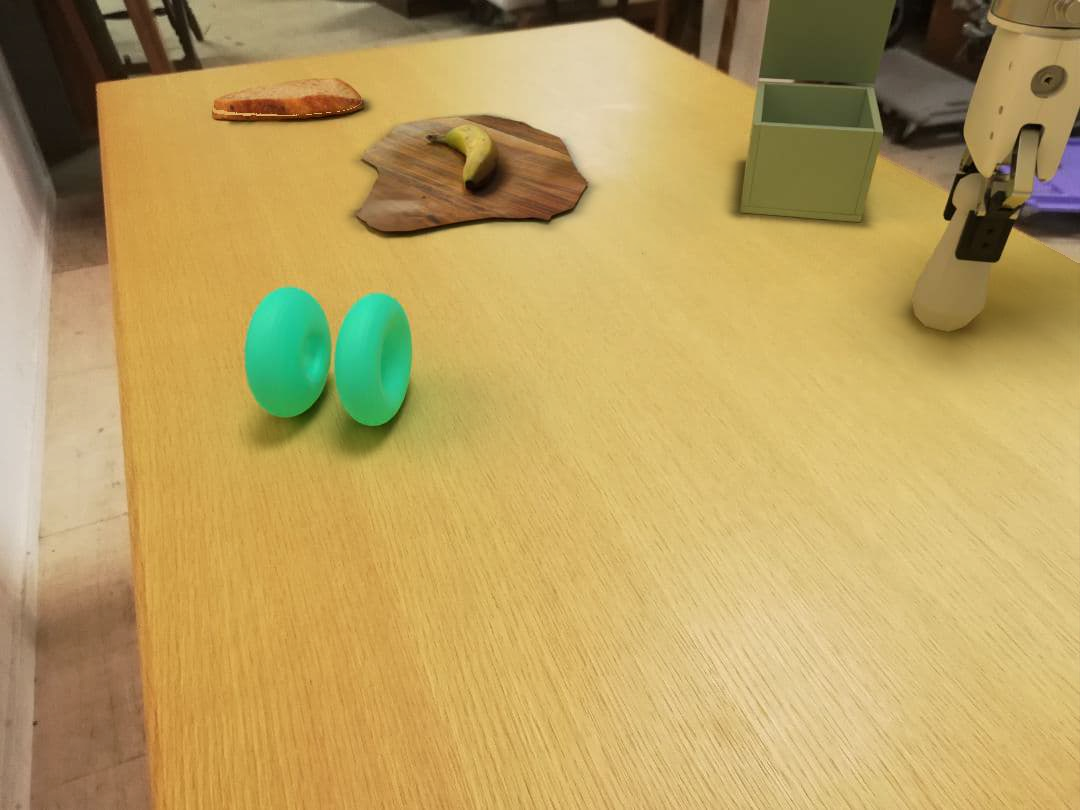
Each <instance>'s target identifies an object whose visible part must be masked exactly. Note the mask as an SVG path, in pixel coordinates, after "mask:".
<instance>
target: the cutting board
mask: <svg viewBox="0 0 1080 810" xmlns="http://www.w3.org/2000/svg"><path fill="white" fill-rule="evenodd" d="M360 158H361V159H363V160H364V161H365V162H367V163H369V164H371V165H372V166H374V167H375V168H376V169H377V171H378V173H379V174H378V176H377V177H376V179H375V181H374V184H373V185H372V188H371V191H370V192H369V195H368V196H367V197H366V198H365V201H364V202H363V203H362V205H361V207H360V208H359V209H358V211H357V212H356V214H355V215H356V216H357V217H358V218H359V219H360V220H362V221H364V222H365V223H366V224H367V225H368V226H369V227H371V228H374V229H376V230H379V231H382V232H411V231H416V230H421V229H426V228H432V227H437V226H443V225H448V224H454V223H460V222H468V221H474V220H481V219H488V218H507V219H527V218H536V219H542V220H547V221H549V220H550V219H551V218H552V216H554V215H557V214H560V213H562V212H565V211H568V210H570V209H573V208H574V207H575V206H576V204H577V202H578V200H579V199H580V197H581V195H582V194H583V192H584V190H585V188H586V187H587V186H588V185H589V183H590V181H587V179H586V178H585V177H584V176H583V175H582V173H581V172H580V171H579V169H578V168H577V167H576V164H575V163H574V161H573V160H572V156H571V155H570V153H569V149H568V147H567V145H566V144H565V142H564V141H563V140H562V139H561V137H559V136H558V135H554V134H553V133H552V134H551V133H549V132H546V131H544V130H542V129H539V128H536V127H533V126H532V125H530V124H528V123H527V122H525V121H521V120H520V121H519V120H515V119H510V118H503V117H500V116H492V115H486V114H481V115H468V116H467V115H466V116H453V117H445V118H444V117H442V118H432V119H424V120H417V121H411V122H410V121H409V122H403V123H399V124H398V125H397V126H395V127H394V128H393V129H392V130H391V131H390V132H389V133H387V134H386V135H385V136H384V137H383V138H382V139H380V140H379V141H378V142H376V143H375V144H373V146H371V147H370V148H368V149H366V151H364V153H363V154H362V155H361V156H360Z"/></svg>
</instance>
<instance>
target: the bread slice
mask: <svg viewBox="0 0 1080 810" xmlns="http://www.w3.org/2000/svg"><path fill="white" fill-rule="evenodd" d="M361 98H362V96H361V95H360V94H359V92H358V91H357V90H356V89H355V88H354V87H353V86H352V85H350V84H349V83H347V82H345V81H344V80H342V79H341V78H339V77H338V78H337V77H333V78H309V79H307V78H305V79H301V80H288V81H283V82H279V83H275V84H266V85H262V86H257V87H251V88H245V89H243V90H239V91H234V92H231V93H227V94H224V95H222V96H220V97H218V98H216V99H214V100H213V105H214V106H212V108H213V107H214V108H215V109H216V110H224V111H227V112H235V113H236V112H237V113H255V114H256V113H257V114H260V113H261V114H277V115H293V114H294V115H296V114H297V116H256V115H251V116H243V115H225V114H217V113H214V112H213V110H212V109H211V116H212V118H213V119H215V120H228V121H239V122H240V121H282V120H296V119H297V120H298V119H302V120H305V119H311V118H313V119H314V118H316V119H318V118H324V117H329V116H341V115H346V114H350V113H353V112H355V111H359V110H362V109H364V108H365V103H364V100H363V99H362V100H361ZM361 101H362V103H361ZM360 103H361V104H360ZM359 104H360V105H359ZM358 105H359V106H358ZM355 106H357V107H355ZM353 107H355V108H353ZM350 108H352V109H350ZM347 109H349V110H347ZM343 110H345V111H343ZM337 111H340V112H337ZM326 112H331V113H326ZM314 113H322V114H314ZM298 114H299V115H298ZM306 114H312V115H306Z"/></svg>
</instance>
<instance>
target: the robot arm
mask: <svg viewBox="0 0 1080 810" xmlns="http://www.w3.org/2000/svg"><path fill="white" fill-rule="evenodd" d="M986 20H987V21H988V22H989V23H990V24H991V25H992V26H996V28H995V31H994V33H993V35H992V37H991V41H990V44H989V46H988V50H987V52H986V55H985V57H984V60H983V63H982V65H981V68H980V71H979V74H978V77H977V80H976V83H975V86H974V89H973V92H972V96H971V98H970V101H969V102H970V103H969V105H968V109H967V112H966V116H965V120H964V125H963V137H964V140H965V141H964V142H965V144H966V148H965V149H964V153H963V154H962V157H961V158H960V161H959V164H958V173H956V174H955V176H954V180H953V183H952V185H951V188H950V192H949V194H948V197H947V201H946V203H945V206H944V209H943V213H942V216H943V220H944V221H947V222H950V221H951V219H952V217H953V215H954V213H955V212H956V210H957V208H956V207H955V206H954V204H953V203H952V199H953V195H954V192H955V189H956V186H957V184H958V183H959V181H960V179H962V178H964V177H966V176H968V175H970V174H974V173H981V174H982V175H983V178H982V183H981V187H980V191H979V195H978V200H977V204H976V208H975V210H970V211H969V213H968V216H967V219H966V222H965V225H964V228H963V230H962V233H961V236H960V239H959V242H958V245H957V248H956V250H955V256H956V258H957V259H958V260H966V261H977V262H988V263H991V264H995V263H998V262H999V261H1000V259H1001V257H1002V255H1003V252H1004V250H1005V248H1006V245H1007V243H1008V240H1009V237H1010V235H1011V233H1012V229H1013V227H1014V224H1015V222H1016V220H1017V219H1018V218H1019V215H1020V212H1021V208H1022V207H1023V206H1024V205H1025V203H1026V201H1028V200H1029V199H1030V198H1031V197H1032V195H1033V190H1034V184H1035V178H1036V179H1037V180H1038V181H1039V182H1040V183H1047V182H1049V181H1051V180H1052V179H1053V178H1054V177H1055V175H1056V174H1057V171H1058V168H1059V166H1060V163H1061V161H1062V157H1063V155H1064V152H1065V150H1066V147H1067V144H1068V141H1069V139H1070V136H1071V133H1072V130H1073V128H1074V124H1075V122H1076V119H1077V116H1078V113H1079V111H1080V0H991V4H990V6H989V10H988V13H987V15H986ZM1001 166H1006V167H1010V170H1009V173H1003V172H1002V173H1001V172H998V171H999V170H1000V168H1001ZM994 182H1008V184H1007V185H1006V187H1004V190H1003V191H999V190H998V191H997V192H996V193H995V194H994V195H993V196H992V197H990V196H991V192H992V188H993V184H994Z"/></svg>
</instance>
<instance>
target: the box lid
mask: <svg viewBox="0 0 1080 810" xmlns="http://www.w3.org/2000/svg"><path fill="white" fill-rule="evenodd" d="M896 2H897V0H769V3H768V9H767V10H768V11H767V16H766V24H765V31H764V36H763V37H764V38H763V44H762V51H761V58H760V65H759V71H758V79H769V80H790V81H791V80H792V81H811V82H812V81H813V82H830V83H831V82H832V83H853V84H870V85H871V84H872V85H873V84H874V85H875V84H876V82H877V77H878V73H879V70H880V65H881V62H882V57H883V53H884V49H885V45H886V42H887V37H888V33H889V29H890V25H891V23H892V19H893V18H892V17H893V14H894V10H895V5H896Z"/></svg>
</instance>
